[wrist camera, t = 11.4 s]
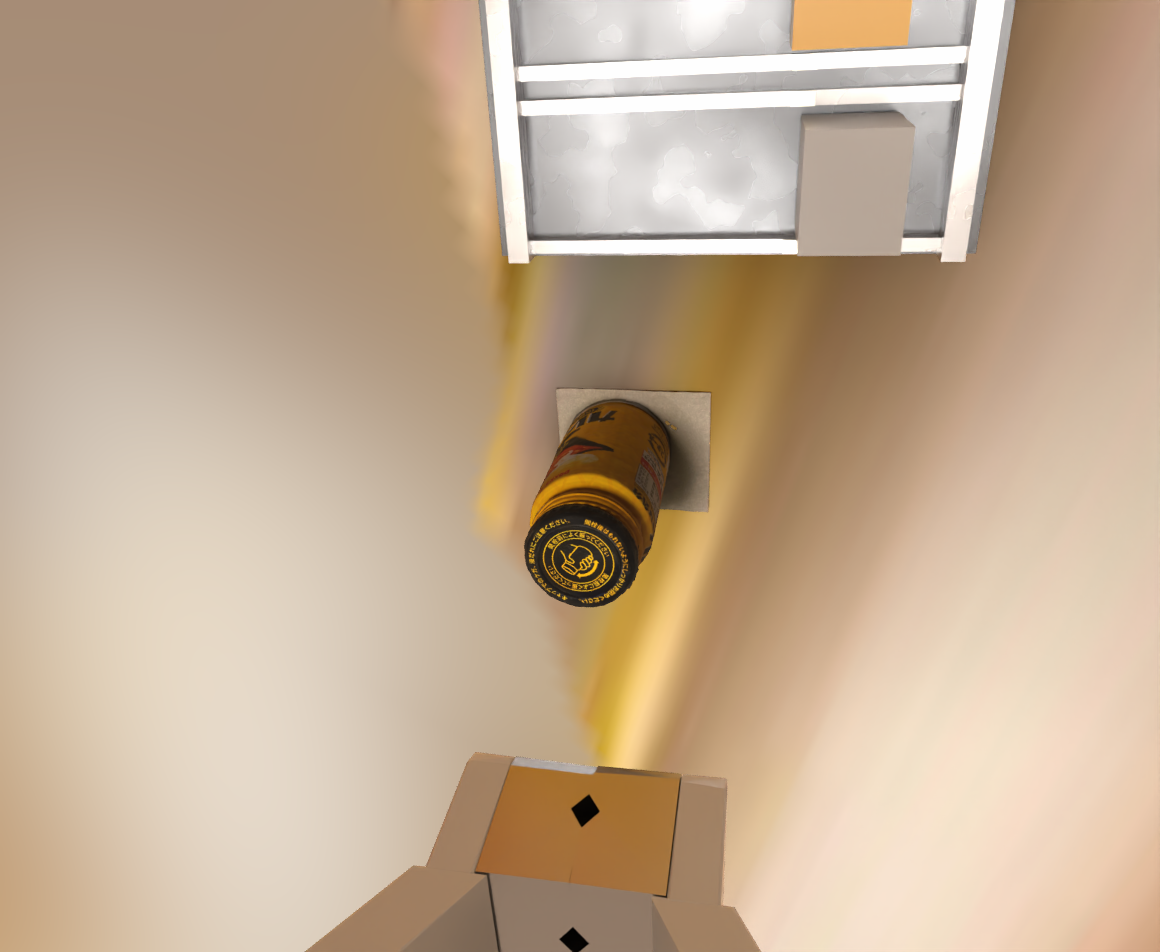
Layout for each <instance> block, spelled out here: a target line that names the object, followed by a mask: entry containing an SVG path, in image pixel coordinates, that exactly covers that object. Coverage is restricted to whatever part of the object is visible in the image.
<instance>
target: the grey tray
mask: <svg viewBox="0 0 1160 952" xmlns="http://www.w3.org/2000/svg"><path fill="white" fill-rule="evenodd" d="M791 3H792V0H479V11H480V21H481V32H482V43H483V53H484V64H485V75H486V85H487V96H488V107H489V118H490V128H491V139H492V150H493V160H494V171H495V182H496V192H497V203H498V214H499V225H500V235H501V246H502V256H508V259H509V263H530V261H531V260H532V259H533V258H534V257H535V256H549V255H761V254H797V248H796V238H795V212H796V195H797V179H798V162H799V145H800V129H801V115H807V114H837V113H867V112H897V111H899V112H900V113H901V114H902V115H903V116H904V117H905V118H906V119H908V120H909V121H910V122H911V123H912V124H913V125H914V126H915V136H914V145H913V153H912V162H911V170H910V179H909V187H908V196H907V204H906V213H905V221H904V230H903V238H902V247H901V254H936V255H937V257H938V258H939V260H940V261H941V262H965V259H966V254H973V253H976V249H977V243H978V236H979V230H980V223H981V217H982V211H983V204H984V198H985V191H986V185H987V179H988V172H989V166H990V160H991V153H992V147H993V140H994V134H995V128H996V121H997V115H998V109H999V102H1000V96H1001V89H1002V83H1003V77H1004V70H1005V64H1006V58H1007V51H1008V45H1009V38H1010V32H1011V26H1012V19H1013V13H1014V7H1015V0H912V8H911V17H910V26H909V35H908V45H902V46H880V47H859V48H838V49H816V50H795V51H792V49H791V46H790V43H789V41H790V22H791Z"/></svg>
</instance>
